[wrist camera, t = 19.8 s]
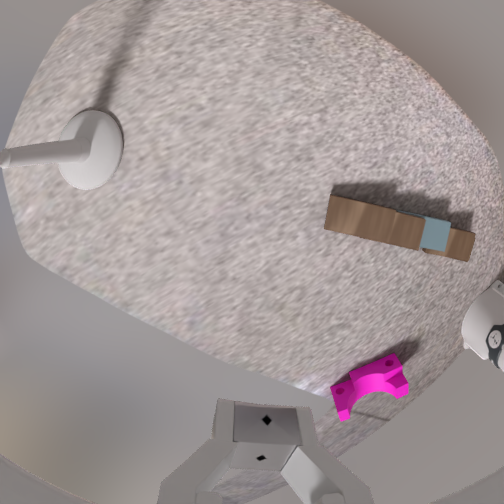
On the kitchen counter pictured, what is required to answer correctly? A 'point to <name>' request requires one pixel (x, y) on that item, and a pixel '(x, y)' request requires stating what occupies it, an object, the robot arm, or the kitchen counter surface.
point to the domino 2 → (406, 231)
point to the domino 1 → (359, 218)
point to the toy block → (370, 383)
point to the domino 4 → (456, 245)
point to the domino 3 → (433, 232)
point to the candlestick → (76, 151)
